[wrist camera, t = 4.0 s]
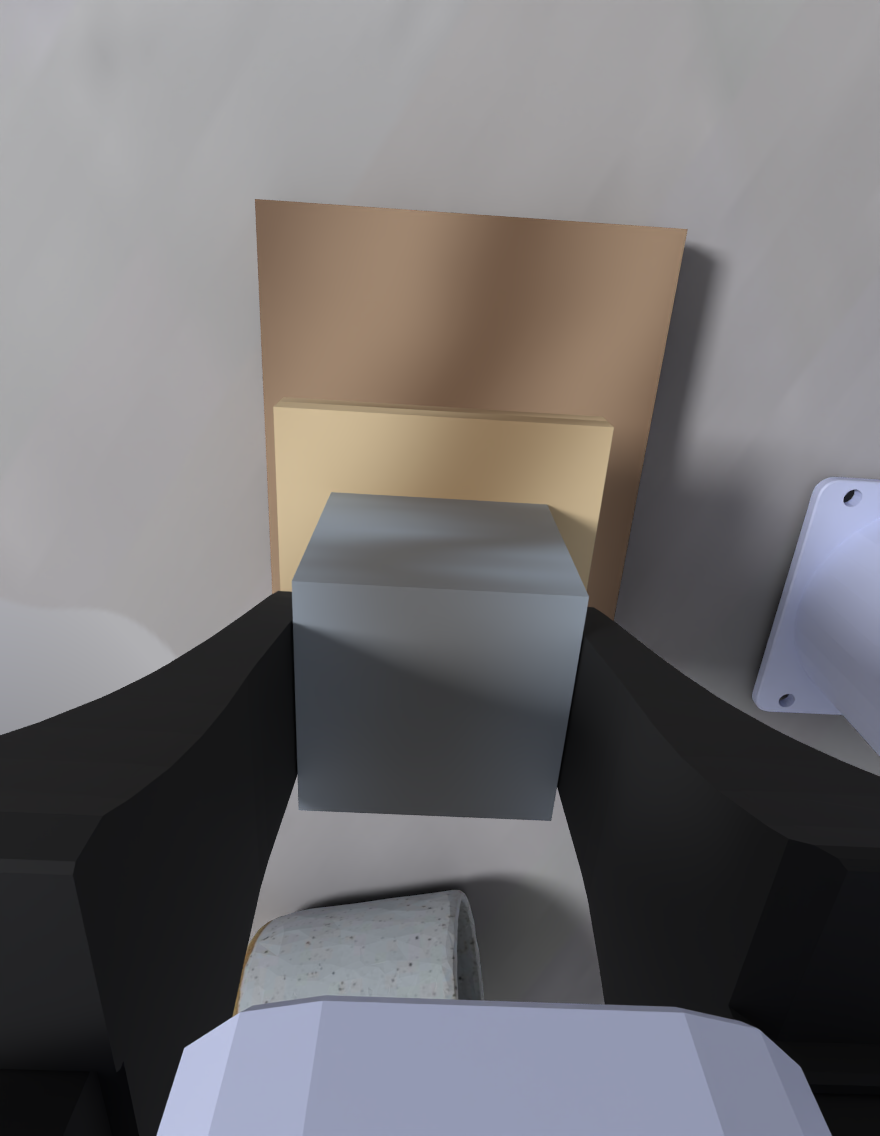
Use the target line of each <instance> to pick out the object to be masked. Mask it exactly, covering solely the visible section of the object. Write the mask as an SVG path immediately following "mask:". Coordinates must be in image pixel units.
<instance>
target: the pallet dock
mask: <svg viewBox="0 0 880 1136" xmlns="http://www.w3.org/2000/svg"><path fill="white" fill-rule="evenodd" d="M255 210H256V233H257V255H258V278H259V300H260V323H261V346H262V368H263V391H264V414H265V436H266V459H267V481H268V504H269V527H270V549H271V572H272V594H274V593H275V592H277V591H280V567H279V541H278V515H277V490H276V464H275V438H274V413H273V407H274V406H275V405H276V404H277V403H278V402H279V401H280V400H281V399H282V398H283V397H288V398H305V399H321V400H338V401H354V402H371V403H387V404H404V405H420V406H436V407H453V408H469V409H486V410H502V411H519V412H535V413H552V414H568V415H585V416H601V417H604V418H605V419H606V420H607V421H608V422H609V423H610V424H611V425H612V426H613V427H614V430H613V436H612V442H611V448H610V454H609V460H608V466H607V472H606V478H605V484H604V490H603V496H602V502H601V508H600V513H599V519H598V525H597V531H596V537H595V543H594V549H593V555H592V561H591V567H590V573H589V579H588V585H587V593H588V596H589V600H588V606H587V607H594V608H596V609H597V610H599V611H601V612H602V613H603V614H605V615H606V616H608V617H609V618H610V619H611V620H613V621H614V615H615V610H616V605H617V599H618V594H619V589H620V584H621V578H622V573H623V568H624V562H625V557H626V552H627V547H628V541H629V536H630V531H631V525H632V520H633V515H634V510H635V504H636V499H637V494H638V488H639V483H640V478H641V472H642V467H643V462H644V457H645V451H646V446H647V441H648V435H649V430H650V425H651V420H652V414H653V409H654V404H655V398H656V393H657V388H658V383H659V377H660V372H661V367H662V361H663V356H664V351H665V346H666V340H667V335H668V330H669V324H670V319H671V314H672V309H673V303H674V298H675V293H676V287H677V282H678V277H679V272H680V266H681V261H682V256H683V250H684V245H685V240H686V234H687V229H676V228H662V227H647V226H633V225H619V224H604V223H590V222H576V221H561V220H547V219H533V218H518V217H504V216H490V215H475V214H461V213H446V212H432V211H418V210H403V209H389V208H375V207H360V206H346V205H332V204H317V203H303V202H289V201H274V200H260V199H255Z"/></svg>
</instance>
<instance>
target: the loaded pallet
mask: <svg viewBox="0 0 880 1136" xmlns="http://www.w3.org/2000/svg"><path fill="white" fill-rule="evenodd" d="M273 413H274V438H275V464H276V490H277V515H278V541H279V567H280V591H290V592H292V608H293V640H294V672H295V704H296V736H297V768H298V801H299V810H307V811H331V812H355V813H378V814H402V815H426V816H450V817H474V818H497V819H521V820H545V821H551V818H552V813H553V807H554V801H555V795H556V789H557V783H558V777H559V771H560V765H561V759H562V754H563V748H564V742H565V736H566V730H567V724H568V718H569V712H570V706H571V700H572V695H573V689H574V683H575V677H576V671H577V665H578V659H579V653H580V647H581V641H582V636H583V630H584V624H585V618H586V612H587V606H588V600H589V596H588V593H587V585H588V579H589V573H590V567H591V561H592V555H593V549H594V543H595V537H596V531H597V525H598V519H599V513H600V508H601V502H602V496H603V490H604V484H605V478H606V472H607V466H608V460H609V454H610V448H611V442H612V436H613V430H614V427H613V426H612V425H611V424H610V423H609V422H608V421H607V420H606V419H605V418H604V417H601V416H585V415H568V414H552V413H535V412H519V411H502V410H486V409H469V408H453V407H436V406H420V405H404V404H387V403H371V402H354V401H338V400H321V399H305V398H288V397H283V398H282V399H281V400H280V401H279V402H278V403H277V404H276V405H275V406H274V407H273Z"/></svg>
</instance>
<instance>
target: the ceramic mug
mask: <svg viewBox="0 0 880 1136" xmlns="http://www.w3.org/2000/svg"><path fill="white" fill-rule="evenodd" d="M323 995H334V996H364V997H393V998H423V999H453V1000H483V1001H484V991H483V981H482V973H481V963H480V955H479V948H478V944H477V939H476V933H475V924H474V919H473V915H472V912H471V908H470V903H469V902H468V898H467V896H466V894H465V893H463V892H462V891H460V890H449V891H442V892H436V893H429V894H421V895H413V896H405V897H397V898H389V899H382V900H376V901H369V902H362V903H355V904H347V905H339V906H331V907H321V908H312V909H307V910H302V911H297V912H294V913H291V914H288V915H285V916H281V917H279V918H276V919H274V920H272V921H270V922H268V923H266V924H265V925H264V926H263V927H262V928H260V929H259V930H258V932H257V933H256V934H255V936H254V937H253V939H252V940H251V942H250V943H249V944H248V946H247V950H246V955H245V960H244V965H243V969H242V974H241V979H240V984H239V988H238V993H237V998H236V1002H235V1007H234V1012H233V1016H235V1015H237V1014H238V1013H240V1012H242V1011H243V1010H245V1009H247V1008H249V1007H251V1006H253V1005H260V1004H267V1003H274V1002H281V1001H288V1000H295V999H302V998H309V997H316V996H323Z"/></svg>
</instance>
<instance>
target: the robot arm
mask: <svg viewBox="0 0 880 1136" xmlns="http://www.w3.org/2000/svg"><path fill="white" fill-rule="evenodd" d="M850 490H854V496H853V497H852V499H850V500H849V501H848V502H843V500H844V496H845V495H846V493H847V492H849V491H850ZM785 694H789V695H788V697H787V698H785V699H783V700H779V699H780V698H781V697H782V696H783V695H785ZM752 699H753V701H754V702H755V704H756V705H757V707H758V708H760V709H761V710H763V711H768V712H789V713H810V714H831V715H843V716H844V717H845V718H846V719H847V720H848V721H849V723H850V724H851V725H852V726H853V727H854V728H855V729H856V730H857V731H858V733H859V734H860V735H861V736H862V737H863V738H864V739H865V740H866V742H867V743H868V744H869V745H870V746H871V747H872V748H873V749H874V751H875V752H876V753H877V754H878V755H879V756H880V480H879V479H862V478H845V477H830V478H826V479H824V480H822V481H821V482H820V483H818V484H817V485H816V487H815V489H814V491H813V492H812V496H811V499H810V502H809V506H808V509H807V513H806V516H805V519H804V523H803V526H802V529H801V533H800V536H799V539H798V543H797V546H796V549H795V553H794V556H793V559H792V563H791V566H790V569H789V573H788V576H787V579H786V583H785V586H784V589H783V593H782V596H781V599H780V603H779V606H778V609H777V613H776V616H775V619H774V623H773V626H772V629H771V633H770V636H769V639H768V643H767V646H766V649H765V653H764V656H763V660H762V663H761V666H760V670H759V673H758V676H757V680H756V683H755V686H754V690H753V693H752ZM297 774H298V768H297V736H296V704H295V672H294V640H293V608H292V592H290V591H277V592H275V593H274V594H272V595H270V596H269V597H267V598H266V599H265V600H263V601H262V602H260V603H259V604H258V605H256V606H255V607H254V608H252V609H251V610H249V611H248V612H247V613H245V614H244V615H242V616H241V617H240V618H238V619H237V620H235V621H234V622H232V623H231V624H230V625H228V626H227V627H225V628H224V629H222V630H221V631H220V632H218V633H217V634H215V635H214V636H212V637H211V638H209V639H208V640H206V641H205V642H203V643H201V644H200V645H198V646H196V647H195V648H193V649H192V650H190V651H188V652H187V653H185V654H183V655H182V656H180V657H179V658H177V659H175V660H174V661H172V662H171V663H169V664H167V665H166V666H164V667H162V668H160V669H158V670H157V671H155V672H153V673H151V674H149V675H147V676H145V677H143V678H141V679H140V680H137V681H135V682H133V683H131V684H129V685H127V686H125V687H123V688H121V689H119V690H117V691H115V692H113V693H111V694H108V695H106V696H104V697H102V698H99V699H97V700H94V701H92V702H89V703H87V704H84V705H82V706H79V707H77V708H74V709H72V710H69V711H66V712H64V713H62V714H59V715H57V716H54V717H51V718H49V719H46V720H44V721H41V722H39V723H36V724H33V725H30V726H27V727H24V728H21V729H18V730H15V731H12V732H9V733H6V734H3V735H0V1136H880V776H877V775H874V774H872V773H870V772H867V771H865V770H862V769H860V768H857V767H855V766H852V765H850V764H848V763H845V762H843V761H840V760H838V759H836V758H834V757H832V756H829V755H827V754H825V753H823V752H821V751H818V750H816V749H814V748H812V747H810V746H808V745H805V744H803V743H801V742H799V741H797V740H795V739H793V738H791V737H789V736H787V735H785V734H783V733H781V732H779V731H777V730H775V729H773V728H771V727H769V726H767V725H765V724H764V723H762V722H760V721H758V720H756V719H755V718H753V717H751V716H749V715H747V714H746V713H744V712H742V711H740V710H739V709H737V708H735V707H733V706H732V705H730V704H728V703H727V702H725V701H723V700H722V699H720V698H718V697H717V696H715V695H714V694H712V693H711V692H709V691H708V690H706V689H705V688H703V687H702V686H700V685H699V684H697V683H696V682H694V681H693V680H691V679H690V678H688V677H687V676H685V675H684V674H683V673H681V672H680V671H678V670H677V669H676V668H674V667H673V666H671V665H670V664H669V663H667V662H666V661H665V660H663V659H662V658H660V657H659V656H658V655H657V654H655V653H654V652H653V651H651V650H650V649H649V648H647V647H646V646H645V645H643V644H642V643H641V642H640V641H638V640H637V639H636V638H635V637H633V636H632V635H631V634H629V633H628V632H627V631H626V630H624V629H623V628H622V627H621V626H619V625H618V624H617V623H615V622H614V621H613V620H611V619H610V618H609V617H608V616H606V615H605V614H603V613H602V612H601V611H599V610H597V609H596V608H594V607H587V612H586V618H585V624H584V630H583V636H582V641H581V647H580V653H579V659H578V665H577V671H576V677H575V683H574V689H573V695H572V700H571V706H570V712H569V718H568V724H567V730H566V736H565V742H564V748H563V754H562V759H561V765H560V771H559V777H558V783H557V788H558V791H559V795H560V798H561V802H562V805H563V809H564V813H565V816H566V820H567V823H568V827H569V830H570V834H571V837H572V841H573V844H574V848H575V851H576V855H577V858H578V862H579V865H580V869H581V873H582V877H583V881H584V885H585V890H586V894H587V898H588V903H589V909H590V915H591V921H592V927H593V932H594V938H595V944H596V950H597V956H598V962H599V968H600V975H601V981H602V988H603V994H604V1001H605V1005H603V1004H573V1003H543V1002H513V1001H483V1000H453V999H423V998H393V997H364V996H334V995H323V996H316V997H309V998H302V999H295V1000H288V1001H281V1002H274V1003H267V1004H260V1005H253V1006H251V1007H249V1008H247V1009H245V1010H243V1011H242V1012H240V1013H238V1014H237V1015H235V1016H233V1012H234V1007H235V1002H236V998H237V993H238V988H239V984H240V979H241V974H242V969H243V965H244V960H245V955H246V950H247V946H248V941H249V937H250V933H251V928H252V924H253V919H254V915H255V910H256V906H257V901H258V897H259V892H260V888H261V884H262V881H263V878H264V874H265V871H266V867H267V864H268V860H269V857H270V854H271V851H272V848H273V845H274V842H275V839H276V836H277V833H278V831H279V828H280V825H281V822H282V819H283V816H284V813H285V810H286V807H287V804H288V801H289V798H290V795H291V792H292V789H293V786H294V783H295V780H296V777H297Z"/></svg>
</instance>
